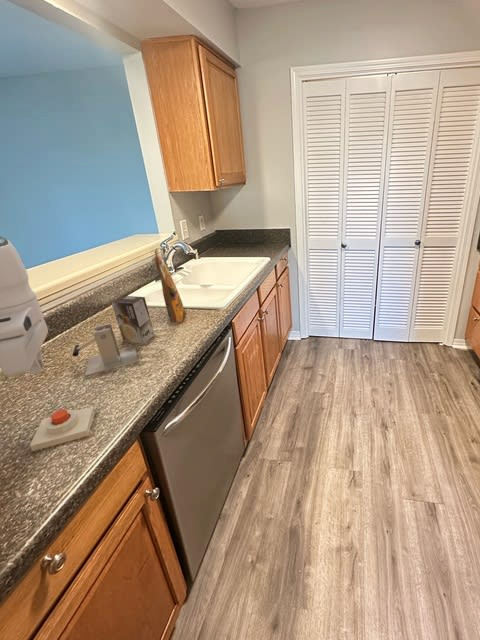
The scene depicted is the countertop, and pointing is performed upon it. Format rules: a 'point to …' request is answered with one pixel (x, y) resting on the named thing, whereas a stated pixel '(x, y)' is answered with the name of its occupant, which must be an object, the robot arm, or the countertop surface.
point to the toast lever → (84, 345)
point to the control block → (63, 429)
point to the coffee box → (133, 319)
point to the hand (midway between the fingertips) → (38, 370)
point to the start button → (60, 417)
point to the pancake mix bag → (169, 291)
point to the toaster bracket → (109, 352)
